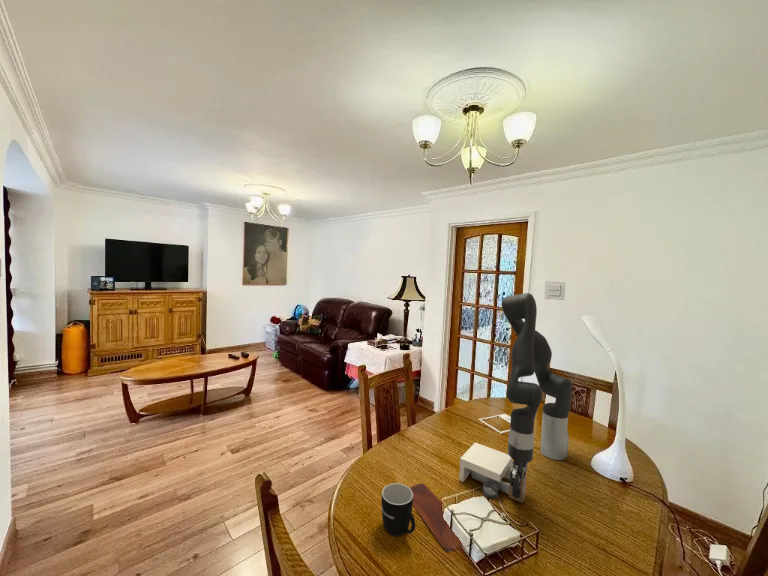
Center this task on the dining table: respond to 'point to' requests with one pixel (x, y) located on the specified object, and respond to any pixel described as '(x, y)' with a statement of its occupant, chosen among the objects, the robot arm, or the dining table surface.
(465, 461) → the plinth shelf
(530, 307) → the robot arm
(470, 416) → the dining table surface
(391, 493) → the mug
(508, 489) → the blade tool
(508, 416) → the photo frame
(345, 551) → the dining table surface
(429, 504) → the wooden tablet
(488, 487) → the token
